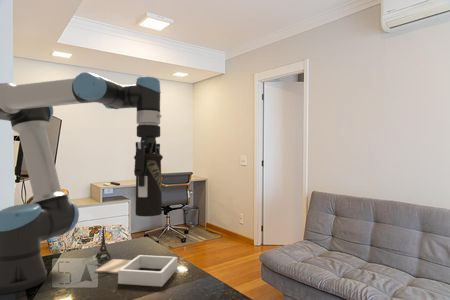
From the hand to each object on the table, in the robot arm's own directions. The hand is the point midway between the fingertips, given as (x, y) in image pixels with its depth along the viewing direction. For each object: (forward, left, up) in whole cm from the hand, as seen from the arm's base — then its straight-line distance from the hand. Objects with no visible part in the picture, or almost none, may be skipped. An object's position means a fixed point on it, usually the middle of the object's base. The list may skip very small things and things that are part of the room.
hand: (148, 195), depth 96 cm
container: (0, 0, -6) cm, 6 cm away
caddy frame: (0, 0, -26) cm, 26 cm away
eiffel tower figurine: (-25, +14, -27) cm, 39 cm away
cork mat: (-14, +5, -26) cm, 30 cm away
